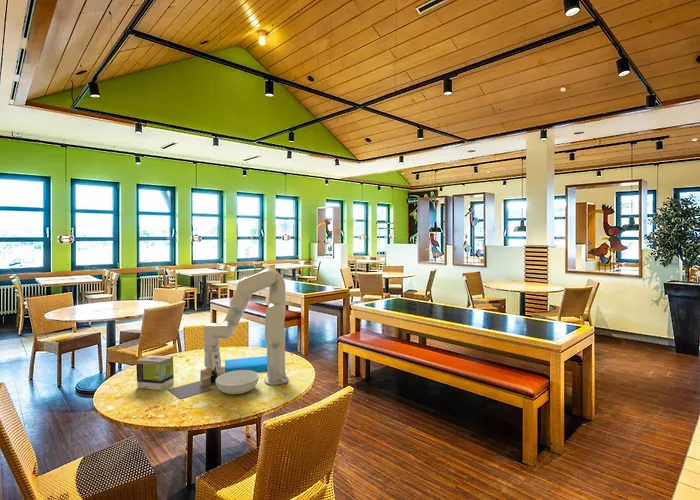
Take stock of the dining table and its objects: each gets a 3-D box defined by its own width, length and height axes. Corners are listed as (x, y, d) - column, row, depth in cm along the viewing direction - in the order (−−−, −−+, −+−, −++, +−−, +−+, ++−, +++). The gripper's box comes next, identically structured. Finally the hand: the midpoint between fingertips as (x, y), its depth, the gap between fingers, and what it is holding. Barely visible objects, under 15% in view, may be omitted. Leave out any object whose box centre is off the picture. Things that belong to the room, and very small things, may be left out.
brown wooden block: (224, 381, 215) (224, 366, 215) (202, 386, 206) (202, 371, 206) (221, 380, 217) (222, 365, 216) (199, 385, 208) (200, 369, 208)
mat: (212, 390, 203) (212, 389, 203) (180, 399, 192) (180, 398, 192) (198, 382, 215) (198, 381, 215) (167, 390, 203) (167, 389, 203)
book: (224, 360, 240) (267, 355, 248) (224, 367, 241) (267, 362, 248) (224, 369, 224) (270, 363, 232) (224, 376, 224) (270, 371, 232)
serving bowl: (214, 386, 209) (214, 373, 209) (256, 380, 216) (255, 367, 216) (216, 402, 189) (216, 387, 189) (261, 395, 197) (261, 381, 196)
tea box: (174, 383, 213) (173, 356, 212) (160, 391, 203) (159, 362, 202) (150, 381, 217) (149, 353, 216) (136, 388, 207) (135, 359, 206)
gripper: (225, 349, 207) (226, 384, 208) (211, 342, 219) (212, 376, 220) (211, 352, 202) (212, 388, 203) (198, 345, 214) (199, 380, 215)
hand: (212, 381), depth 212 cm, fingers closed on brown wooden block, 2 cm apart
